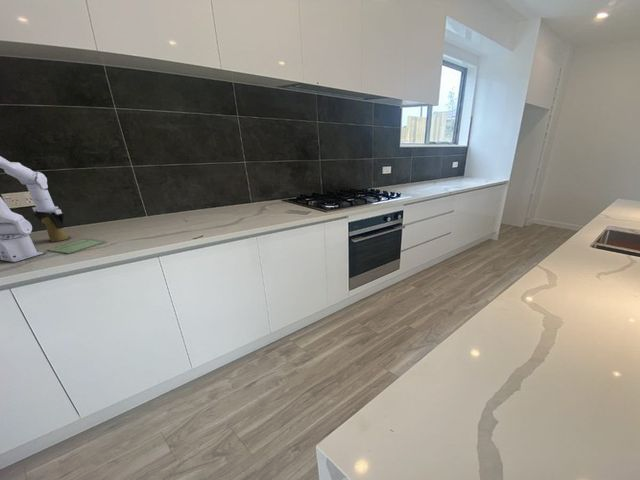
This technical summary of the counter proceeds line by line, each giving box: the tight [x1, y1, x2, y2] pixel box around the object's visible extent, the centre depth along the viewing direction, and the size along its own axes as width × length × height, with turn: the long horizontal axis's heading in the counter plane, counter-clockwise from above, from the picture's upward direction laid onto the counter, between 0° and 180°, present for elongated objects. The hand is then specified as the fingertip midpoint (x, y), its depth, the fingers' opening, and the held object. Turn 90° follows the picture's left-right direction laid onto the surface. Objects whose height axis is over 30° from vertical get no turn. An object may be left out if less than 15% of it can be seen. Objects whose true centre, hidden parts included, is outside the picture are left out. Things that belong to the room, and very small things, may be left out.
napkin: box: [47, 238, 104, 255], centre depth 135 cm, size 14×12×1 cm
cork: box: [40, 217, 69, 243], centre depth 140 cm, size 6×6×11 cm
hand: (54, 227), depth 140 cm, fingers open, 7 cm apart
